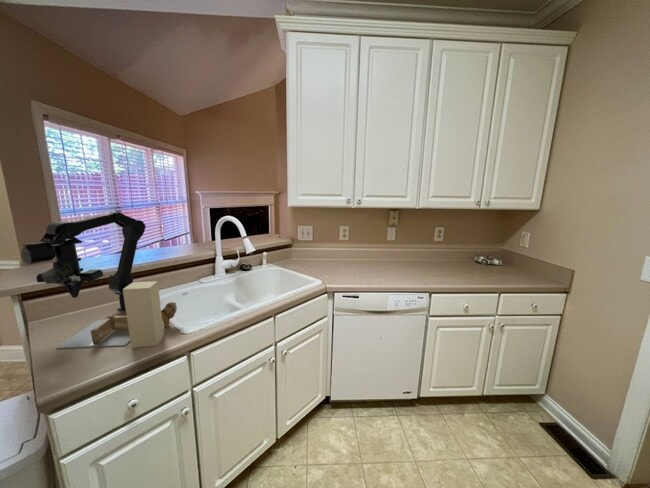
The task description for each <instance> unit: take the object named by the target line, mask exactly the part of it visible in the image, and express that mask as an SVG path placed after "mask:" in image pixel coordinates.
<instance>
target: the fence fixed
mask: <svg viewBox="0 0 650 488" xmlns="http://www.w3.org/2000/svg"><path fill="white" fill-rule="evenodd" d="M106 319H110V320H111V326H112V331H113V330H129V328H128V322H127V315H115V314H110V315H107V317H106Z"/></svg>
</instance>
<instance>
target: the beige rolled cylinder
mask: <svg viewBox="0 0 650 488" xmlns="http://www.w3.org/2000/svg"><path fill="white" fill-rule="evenodd" d="M104 320H105V321H104V322H102V323H101V324H100V325H99V326H97V327H96V328H95V329H93V330H91V336H92V341H93V344H94V345H95V344H99V343H100V341H101V340H102V339H103V338H104V337H105V336H107V335H108V334H109V333H110V332H111V331H112V326H111V320H110V319H107V318H106V319H104Z"/></svg>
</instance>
